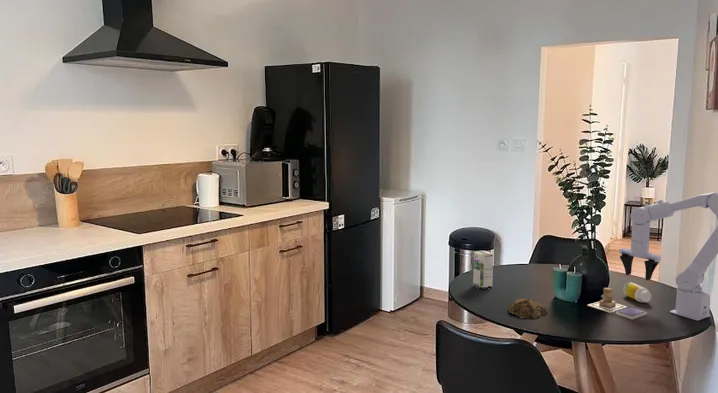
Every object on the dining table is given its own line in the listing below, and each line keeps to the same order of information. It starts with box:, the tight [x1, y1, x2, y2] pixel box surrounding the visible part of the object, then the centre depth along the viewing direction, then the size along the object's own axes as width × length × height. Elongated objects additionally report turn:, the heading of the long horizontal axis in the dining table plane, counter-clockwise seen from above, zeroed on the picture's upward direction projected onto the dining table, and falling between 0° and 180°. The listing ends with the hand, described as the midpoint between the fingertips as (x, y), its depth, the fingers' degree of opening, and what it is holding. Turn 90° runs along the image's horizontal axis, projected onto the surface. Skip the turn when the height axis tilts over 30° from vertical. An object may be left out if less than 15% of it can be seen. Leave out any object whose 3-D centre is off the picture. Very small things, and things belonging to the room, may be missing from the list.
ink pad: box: [615, 307, 647, 320], centre depth 188 cm, size 6×8×1 cm
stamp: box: [598, 287, 617, 308], centre depth 196 cm, size 4×4×6 cm
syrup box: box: [472, 250, 494, 287], centre depth 220 cm, size 6×6×14 cm
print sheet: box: [587, 301, 628, 314], centre depth 196 cm, size 9×10×1 cm
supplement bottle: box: [622, 281, 652, 303], centre depth 202 cm, size 6×6×10 cm
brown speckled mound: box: [508, 298, 548, 319], centre depth 191 cm, size 13×12×5 cm
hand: (638, 277), depth 198 cm, fingers open, 7 cm apart
